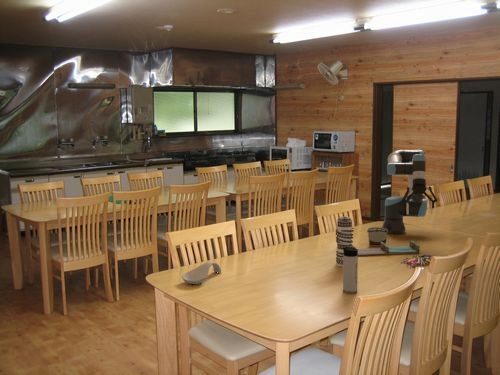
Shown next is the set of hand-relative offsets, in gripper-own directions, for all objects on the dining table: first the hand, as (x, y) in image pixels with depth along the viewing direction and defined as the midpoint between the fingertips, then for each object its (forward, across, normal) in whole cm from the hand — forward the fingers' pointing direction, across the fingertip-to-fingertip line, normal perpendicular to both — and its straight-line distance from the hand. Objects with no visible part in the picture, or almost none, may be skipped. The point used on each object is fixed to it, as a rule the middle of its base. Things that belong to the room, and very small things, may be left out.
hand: (419, 214), depth 297 cm
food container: (+19, -24, -3) cm, 31 cm away
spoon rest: (+51, -88, -93) cm, 138 cm away
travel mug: (+53, -19, -82) cm, 99 cm away
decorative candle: (+36, -31, -46) cm, 67 cm away
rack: (+25, -17, -17) cm, 35 cm away
